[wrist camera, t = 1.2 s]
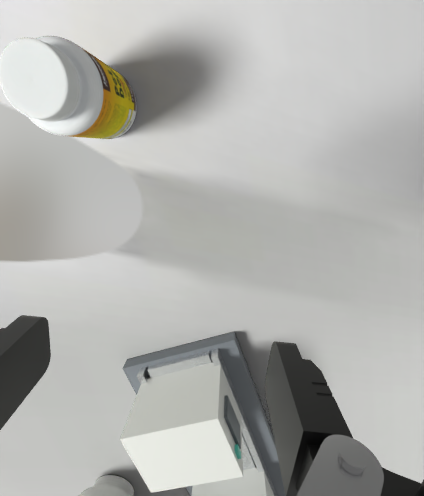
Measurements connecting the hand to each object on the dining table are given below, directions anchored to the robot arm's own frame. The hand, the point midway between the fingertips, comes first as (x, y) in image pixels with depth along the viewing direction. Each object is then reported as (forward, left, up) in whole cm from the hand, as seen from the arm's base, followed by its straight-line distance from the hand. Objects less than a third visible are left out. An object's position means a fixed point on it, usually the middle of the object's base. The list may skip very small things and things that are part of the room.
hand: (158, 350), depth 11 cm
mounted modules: (+7, +26, -17) cm, 31 cm away
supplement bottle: (+5, -13, -19) cm, 23 cm away
